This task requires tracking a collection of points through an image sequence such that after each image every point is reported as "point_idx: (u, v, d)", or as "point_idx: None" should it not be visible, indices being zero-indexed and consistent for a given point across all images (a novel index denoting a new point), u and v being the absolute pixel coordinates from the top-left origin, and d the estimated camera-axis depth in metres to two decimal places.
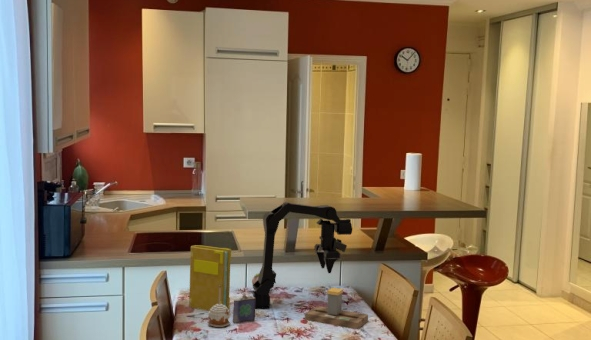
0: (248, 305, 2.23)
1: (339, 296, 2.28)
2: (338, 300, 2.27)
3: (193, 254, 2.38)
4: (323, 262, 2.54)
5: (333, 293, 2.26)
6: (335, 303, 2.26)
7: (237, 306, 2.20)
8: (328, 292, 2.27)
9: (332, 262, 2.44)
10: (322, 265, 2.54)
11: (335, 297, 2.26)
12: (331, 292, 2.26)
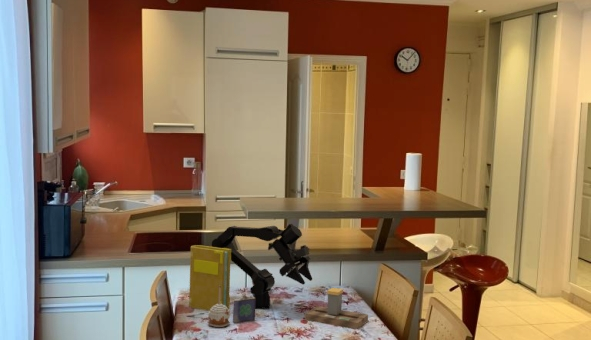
0: (248, 305, 2.23)
1: (339, 296, 2.28)
2: (338, 300, 2.27)
3: (193, 254, 2.38)
4: (307, 275, 2.38)
5: (333, 293, 2.26)
6: (335, 303, 2.26)
7: (237, 306, 2.20)
8: (328, 292, 2.27)
9: (296, 273, 2.30)
10: (308, 278, 2.37)
11: (335, 297, 2.26)
12: (331, 292, 2.26)
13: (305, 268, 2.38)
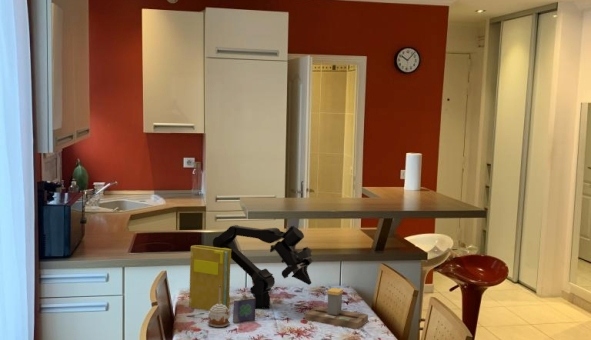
0: (248, 305, 2.23)
1: (339, 296, 2.28)
2: (338, 300, 2.27)
3: (193, 254, 2.38)
4: None
5: (333, 293, 2.26)
6: (335, 303, 2.26)
7: (237, 306, 2.20)
8: (328, 292, 2.27)
9: (302, 274, 2.33)
10: None
11: (335, 297, 2.26)
12: (331, 292, 2.26)
13: None
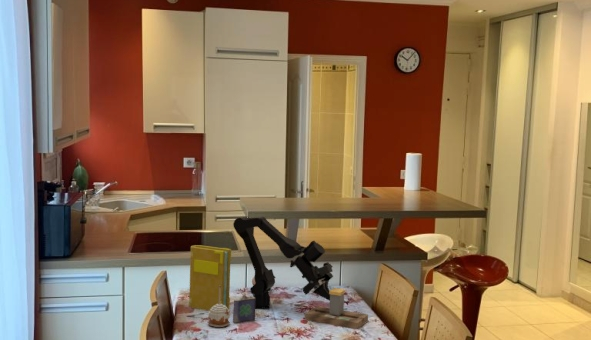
0: (248, 305, 2.23)
1: (341, 296, 2.27)
2: (340, 301, 2.27)
3: (193, 254, 2.38)
4: None
5: (335, 293, 2.26)
6: (337, 303, 2.26)
7: (237, 306, 2.20)
8: (330, 292, 2.27)
9: (323, 290, 2.29)
10: None
11: (337, 297, 2.26)
12: (333, 292, 2.26)
13: (325, 287, 2.31)
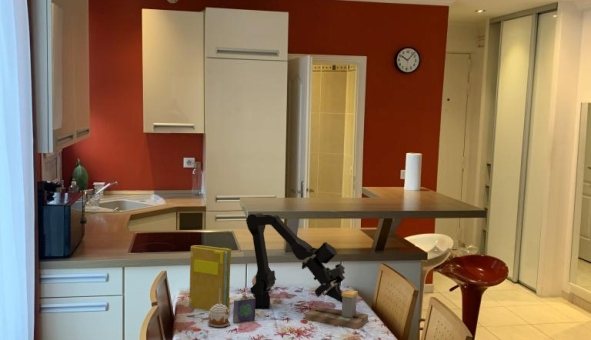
0: (248, 305, 2.23)
1: (354, 298, 2.25)
2: (353, 303, 2.24)
3: (193, 254, 2.38)
4: None
5: (348, 295, 2.23)
6: (350, 305, 2.23)
7: (237, 306, 2.20)
8: (343, 294, 2.24)
9: (335, 292, 2.27)
10: None
11: (350, 299, 2.23)
12: (346, 294, 2.24)
13: None
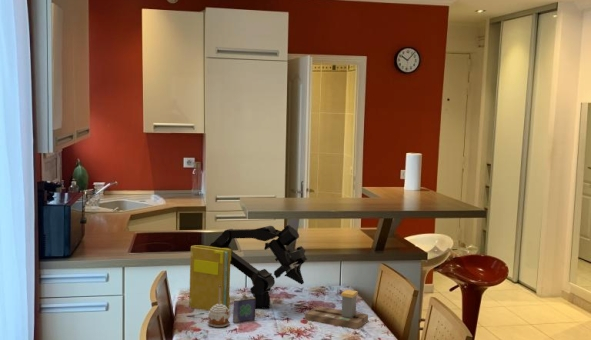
0: (248, 305, 2.23)
1: (353, 298, 2.25)
2: (353, 303, 2.24)
3: (193, 254, 2.38)
4: None
5: (348, 295, 2.23)
6: (350, 305, 2.23)
7: (237, 306, 2.20)
8: (342, 294, 2.24)
9: (295, 273, 2.35)
10: None
11: (350, 299, 2.23)
12: (345, 294, 2.24)
13: (297, 271, 2.36)
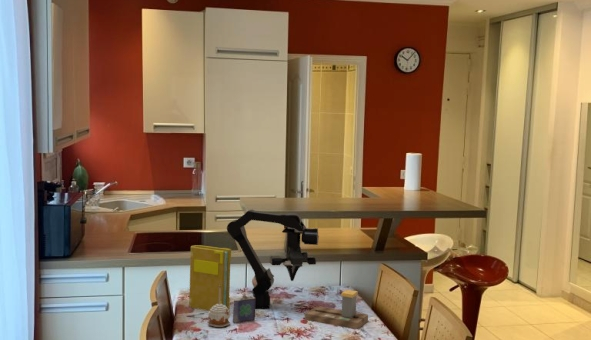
0: (248, 305, 2.23)
1: (353, 298, 2.25)
2: (353, 303, 2.24)
3: (193, 254, 2.38)
4: (292, 274, 2.41)
5: (348, 295, 2.23)
6: (350, 305, 2.23)
7: (237, 306, 2.20)
8: (342, 294, 2.24)
9: None
10: None
11: (350, 299, 2.23)
12: (345, 294, 2.24)
13: (294, 268, 2.40)
